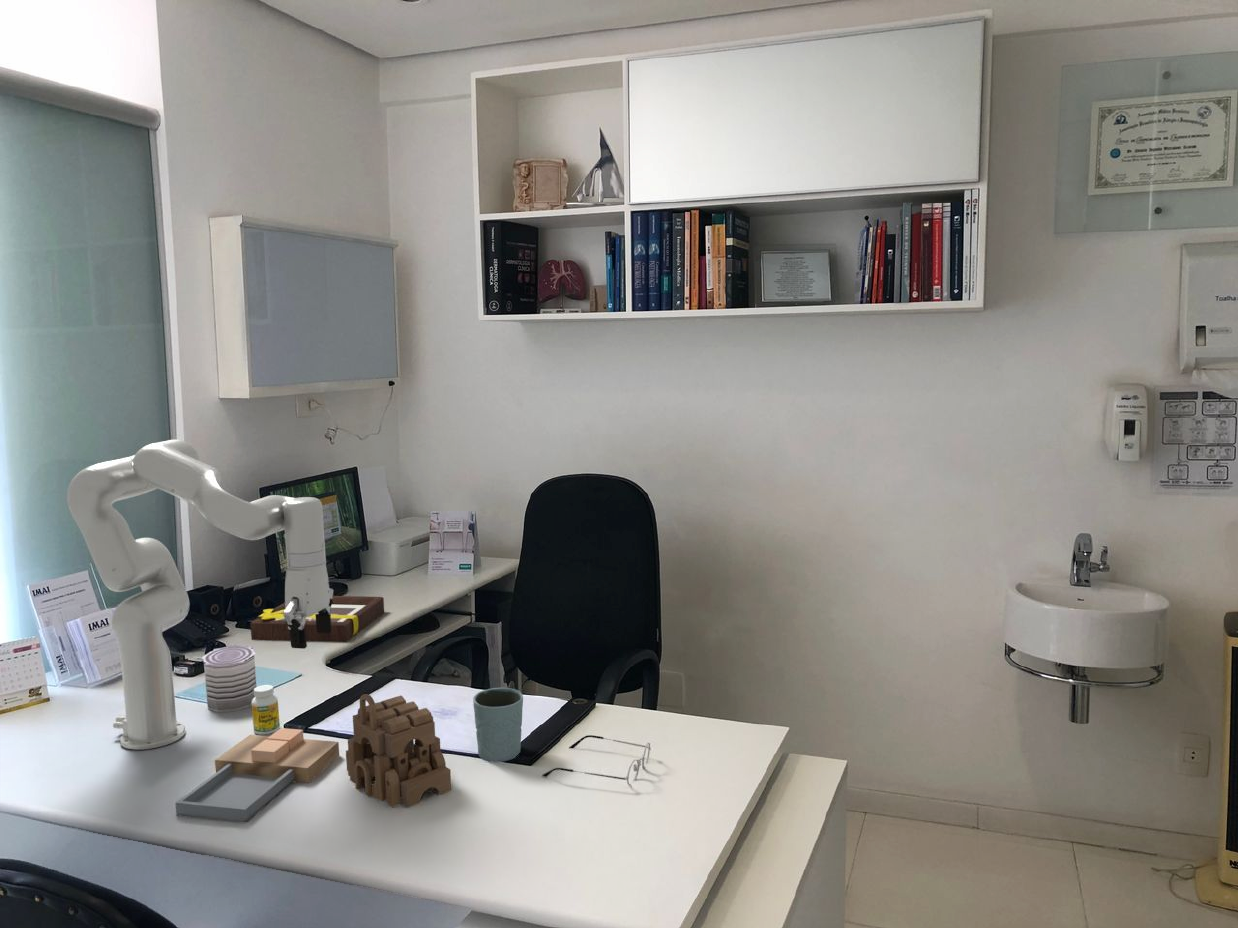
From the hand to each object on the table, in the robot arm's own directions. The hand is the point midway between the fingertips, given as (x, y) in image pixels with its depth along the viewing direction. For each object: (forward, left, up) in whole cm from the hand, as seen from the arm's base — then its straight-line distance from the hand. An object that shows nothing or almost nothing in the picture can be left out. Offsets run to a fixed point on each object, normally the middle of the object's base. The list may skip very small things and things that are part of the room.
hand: (311, 640), depth 201 cm
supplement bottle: (-16, +5, -23) cm, 28 cm away
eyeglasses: (+60, 0, -24) cm, 64 cm away
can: (-33, +18, -23) cm, 44 cm away
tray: (-4, -24, -23) cm, 33 cm away
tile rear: (-4, -7, -20) cm, 21 cm away
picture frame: (-43, +76, -24) cm, 91 cm away
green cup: (+38, +3, -23) cm, 45 cm away
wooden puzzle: (+23, -11, -23) cm, 35 cm away
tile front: (-4, -12, -20) cm, 24 cm away
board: (-4, -10, -23) cm, 25 cm away
